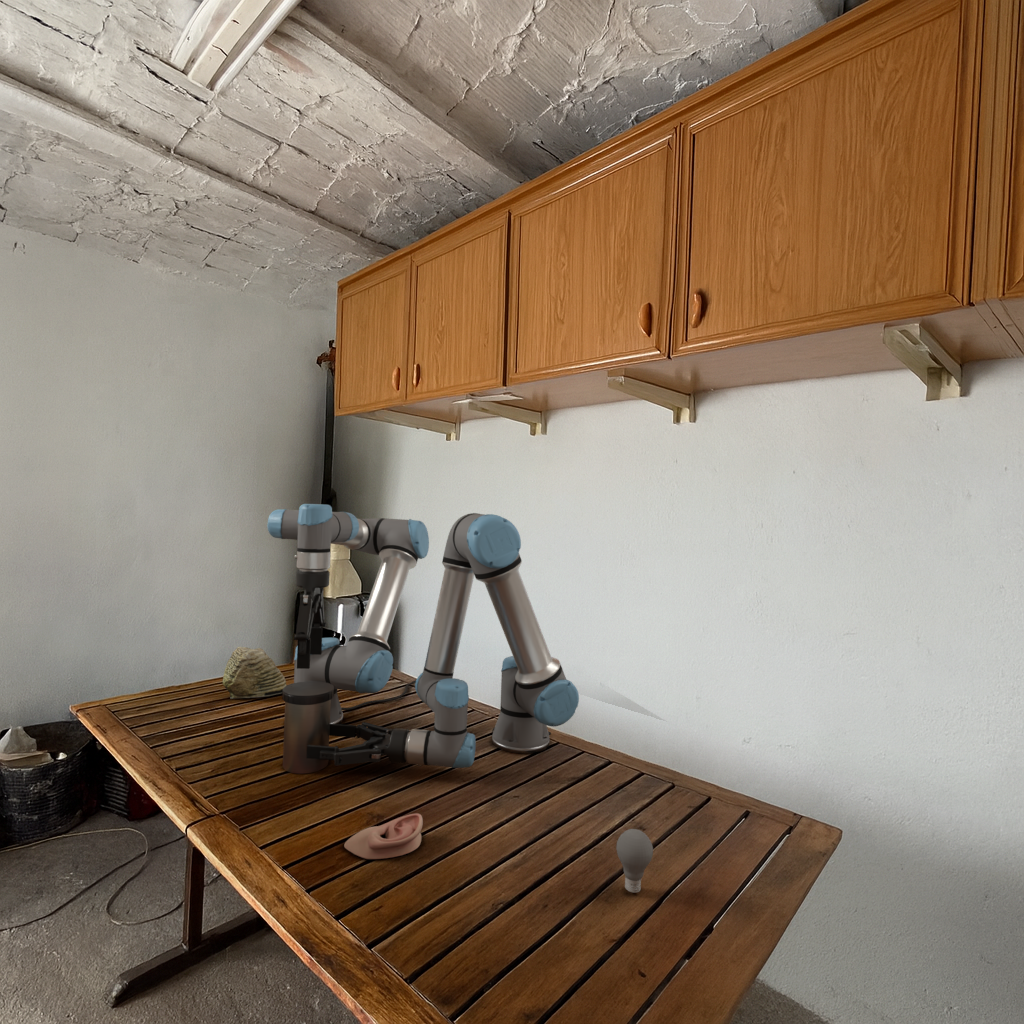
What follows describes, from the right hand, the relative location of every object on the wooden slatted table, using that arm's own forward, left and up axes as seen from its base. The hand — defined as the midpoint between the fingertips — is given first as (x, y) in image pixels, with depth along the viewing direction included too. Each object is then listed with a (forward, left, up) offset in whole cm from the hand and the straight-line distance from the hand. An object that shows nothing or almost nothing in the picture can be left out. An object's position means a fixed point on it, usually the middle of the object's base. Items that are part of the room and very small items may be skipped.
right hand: (318, 740), depth 148 cm
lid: (+3, -2, +11) cm, 12 cm away
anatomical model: (-10, +37, -6) cm, 39 cm away
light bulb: (-47, +63, -6) cm, 78 cm away
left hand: (+3, -2, +18) cm, 18 cm away
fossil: (+15, -59, -6) cm, 61 cm away
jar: (+3, -2, -6) cm, 7 cm away
